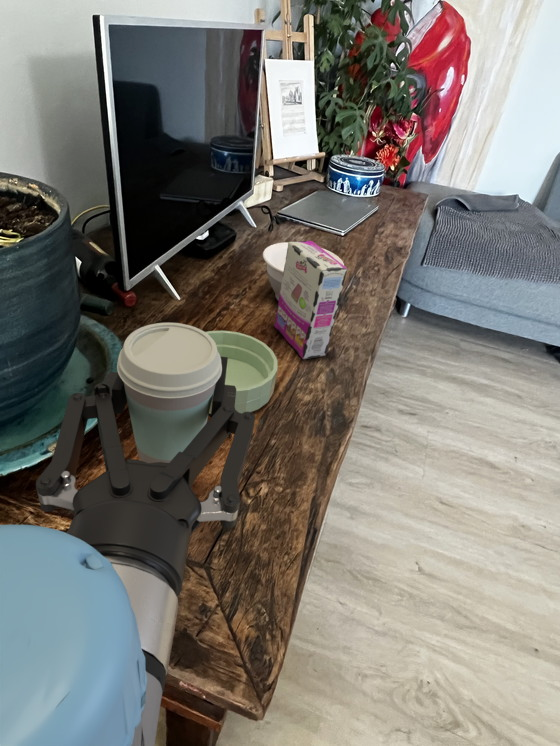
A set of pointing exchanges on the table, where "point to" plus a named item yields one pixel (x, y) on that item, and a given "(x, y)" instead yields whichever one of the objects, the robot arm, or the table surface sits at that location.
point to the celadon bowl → (247, 368)
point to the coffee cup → (168, 386)
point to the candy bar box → (309, 298)
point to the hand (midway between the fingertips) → (179, 363)
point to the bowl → (280, 264)
